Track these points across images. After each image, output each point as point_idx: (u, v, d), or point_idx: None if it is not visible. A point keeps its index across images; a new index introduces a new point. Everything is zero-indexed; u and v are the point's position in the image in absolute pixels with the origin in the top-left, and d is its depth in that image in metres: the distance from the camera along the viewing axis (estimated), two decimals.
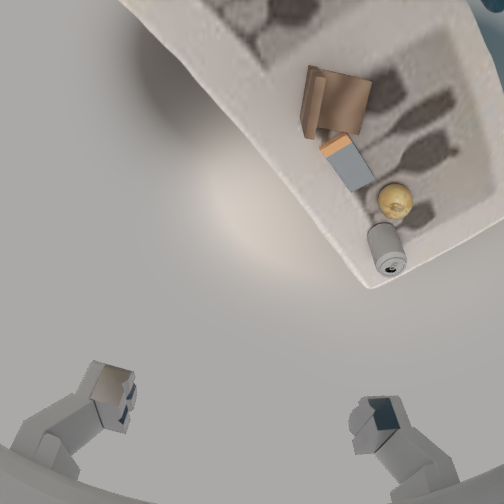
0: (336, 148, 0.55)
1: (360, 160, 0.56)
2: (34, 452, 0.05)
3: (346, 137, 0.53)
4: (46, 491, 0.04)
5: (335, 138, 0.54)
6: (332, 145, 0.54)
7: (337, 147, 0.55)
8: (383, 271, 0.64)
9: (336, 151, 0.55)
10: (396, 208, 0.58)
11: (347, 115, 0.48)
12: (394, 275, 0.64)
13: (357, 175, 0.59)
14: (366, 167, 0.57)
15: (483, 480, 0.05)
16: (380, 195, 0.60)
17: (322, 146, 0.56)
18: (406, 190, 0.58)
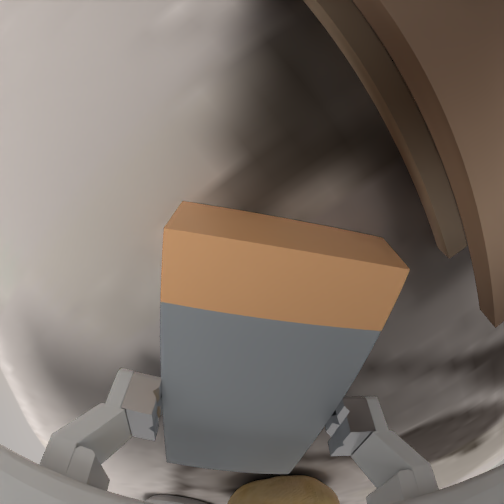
0: (274, 300, 0.07)
1: (315, 418, 0.10)
2: (67, 466, 0.05)
3: (391, 285, 0.07)
4: (46, 491, 0.04)
5: (317, 236, 0.08)
6: (271, 263, 0.07)
7: (286, 299, 0.07)
8: None
9: (256, 316, 0.08)
10: None
11: None
12: None
13: (241, 446, 0.11)
14: (304, 444, 0.11)
15: (483, 480, 0.05)
16: (258, 502, 0.13)
17: (195, 217, 0.07)
18: None
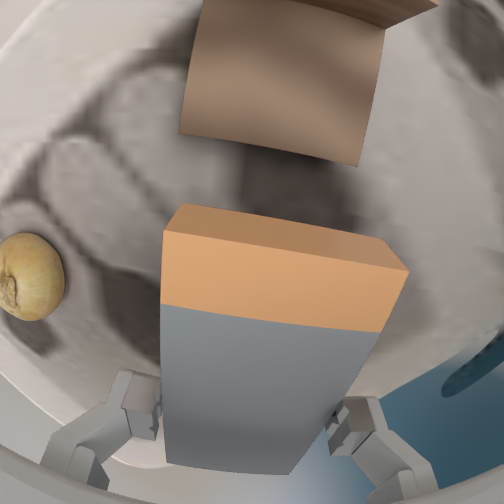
0: (274, 302, 0.07)
1: (314, 419, 0.10)
2: (66, 466, 0.05)
3: (390, 287, 0.07)
4: (46, 491, 0.04)
5: (317, 238, 0.08)
6: (270, 265, 0.07)
7: (285, 301, 0.07)
8: None
9: (255, 318, 0.08)
10: (5, 289, 0.18)
11: (244, 90, 0.15)
12: None
13: (240, 447, 0.11)
14: (304, 445, 0.11)
15: (483, 480, 0.05)
16: (25, 237, 0.20)
17: (194, 218, 0.07)
18: (55, 300, 0.22)
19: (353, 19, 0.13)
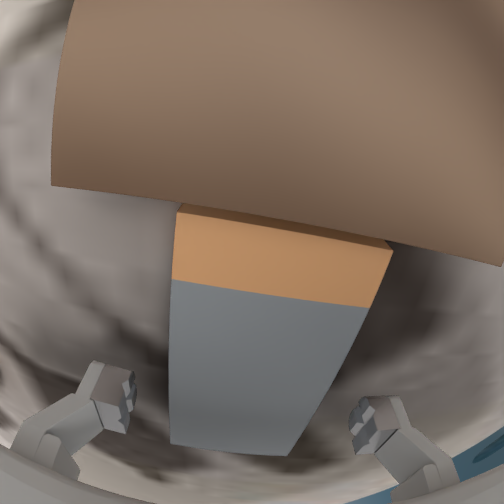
0: (272, 277, 0.08)
1: (311, 394, 0.11)
2: (34, 452, 0.05)
3: (376, 264, 0.08)
4: (46, 491, 0.04)
5: None
6: (269, 243, 0.08)
7: (283, 276, 0.08)
8: None
9: (256, 292, 0.09)
10: None
11: (238, 38, 0.04)
12: None
13: (241, 424, 0.12)
14: (301, 422, 0.12)
15: (483, 480, 0.05)
16: None
17: None
18: None
19: None
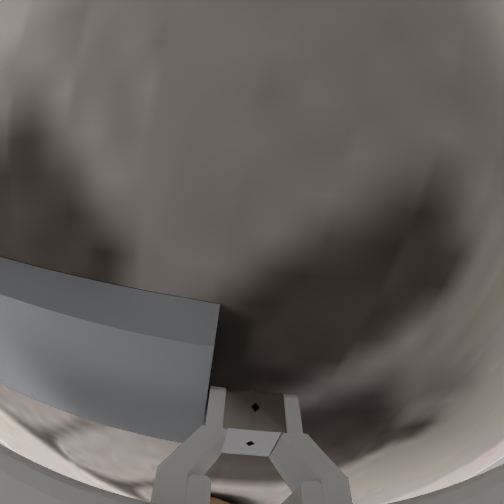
0: None
1: (39, 320, 0.08)
2: (183, 498, 0.05)
3: None
4: (46, 491, 0.04)
5: None
6: None
7: None
8: None
9: None
10: None
11: None
12: None
13: (117, 387, 0.09)
14: (94, 329, 0.08)
15: (483, 480, 0.05)
16: None
17: None
18: None
19: None
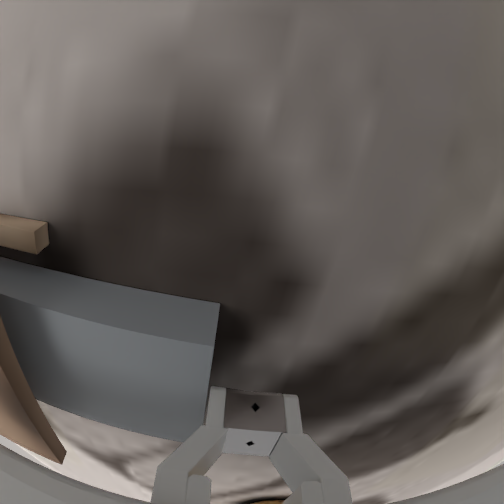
0: None
1: (39, 319, 0.08)
2: (183, 498, 0.05)
3: None
4: (46, 491, 0.04)
5: None
6: None
7: None
8: None
9: None
10: None
11: None
12: None
13: (118, 386, 0.09)
14: (94, 329, 0.08)
15: (483, 480, 0.05)
16: None
17: None
18: None
19: None
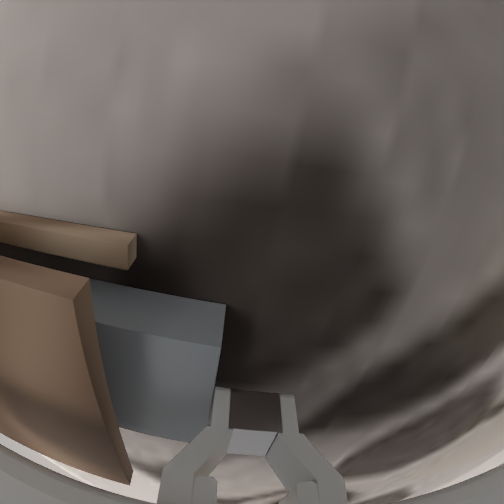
0: None
1: None
2: (189, 499, 0.05)
3: None
4: (46, 491, 0.04)
5: None
6: None
7: None
8: None
9: None
10: None
11: (47, 433, 0.08)
12: None
13: (123, 387, 0.09)
14: (100, 330, 0.08)
15: (483, 480, 0.05)
16: None
17: None
18: None
19: None
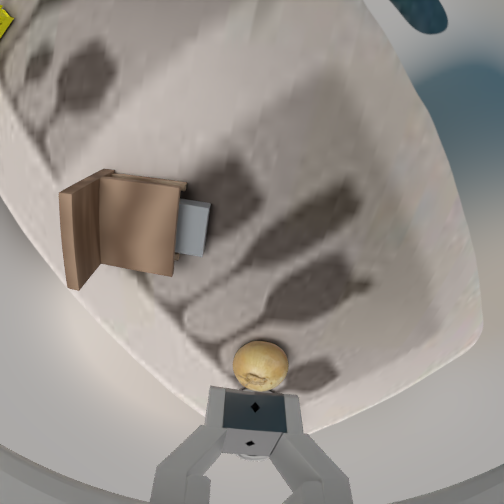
0: None
1: None
2: (182, 498, 0.05)
3: None
4: (46, 491, 0.04)
5: None
6: None
7: None
8: (243, 454, 0.40)
9: None
10: (252, 381, 0.39)
11: (148, 247, 0.33)
12: (262, 459, 0.41)
13: (179, 227, 0.34)
14: None
15: (483, 480, 0.05)
16: (234, 358, 0.42)
17: None
18: (273, 353, 0.40)
19: (100, 196, 0.30)
